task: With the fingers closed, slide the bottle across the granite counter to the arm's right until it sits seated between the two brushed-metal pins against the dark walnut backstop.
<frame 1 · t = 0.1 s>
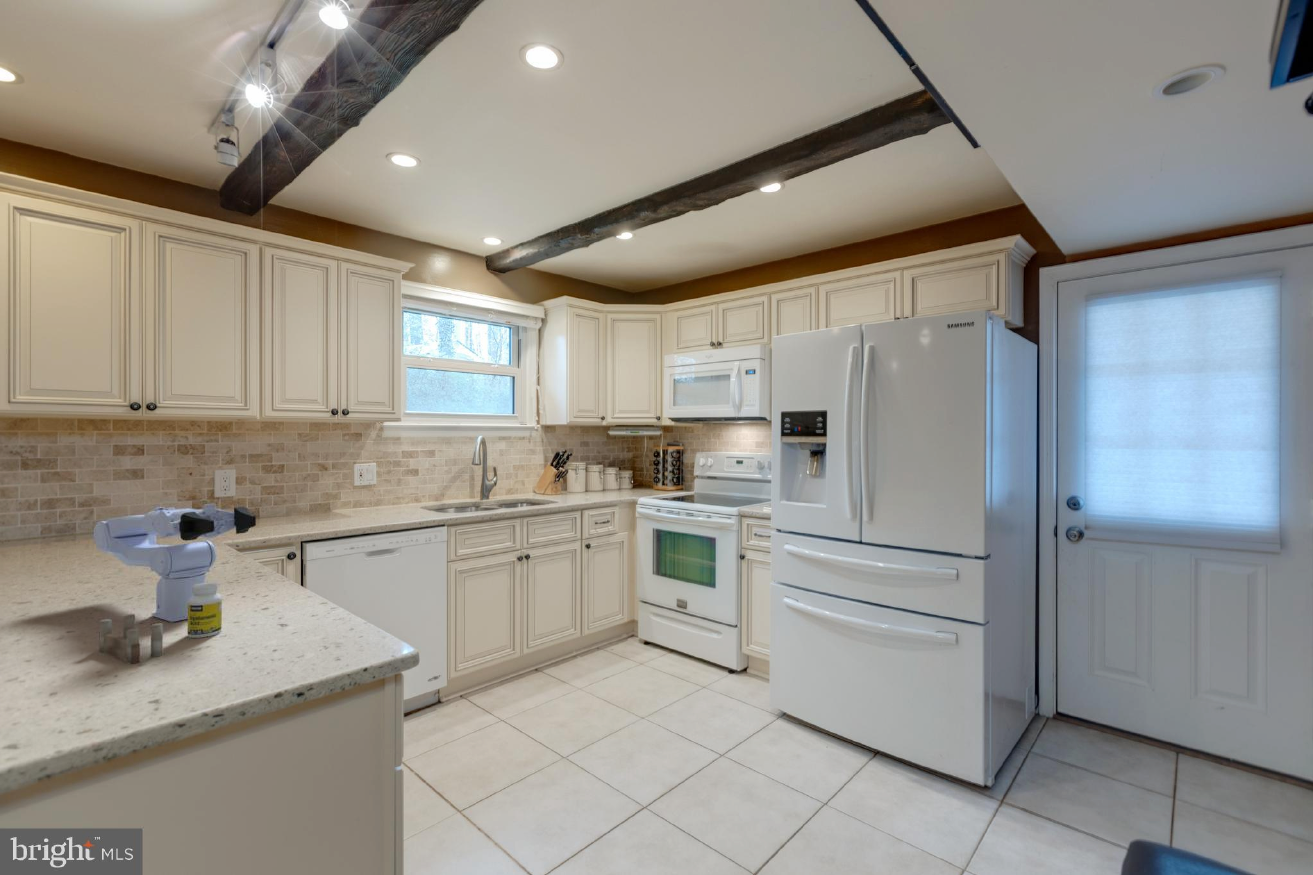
hand: (233, 523, 120), 22 cm above the countertop, tool horizontal, fingers open, 7 cm apart
pin seat: (142, 649, 108), on the countertop
supplement bottle: (204, 634, 117), on the countertop
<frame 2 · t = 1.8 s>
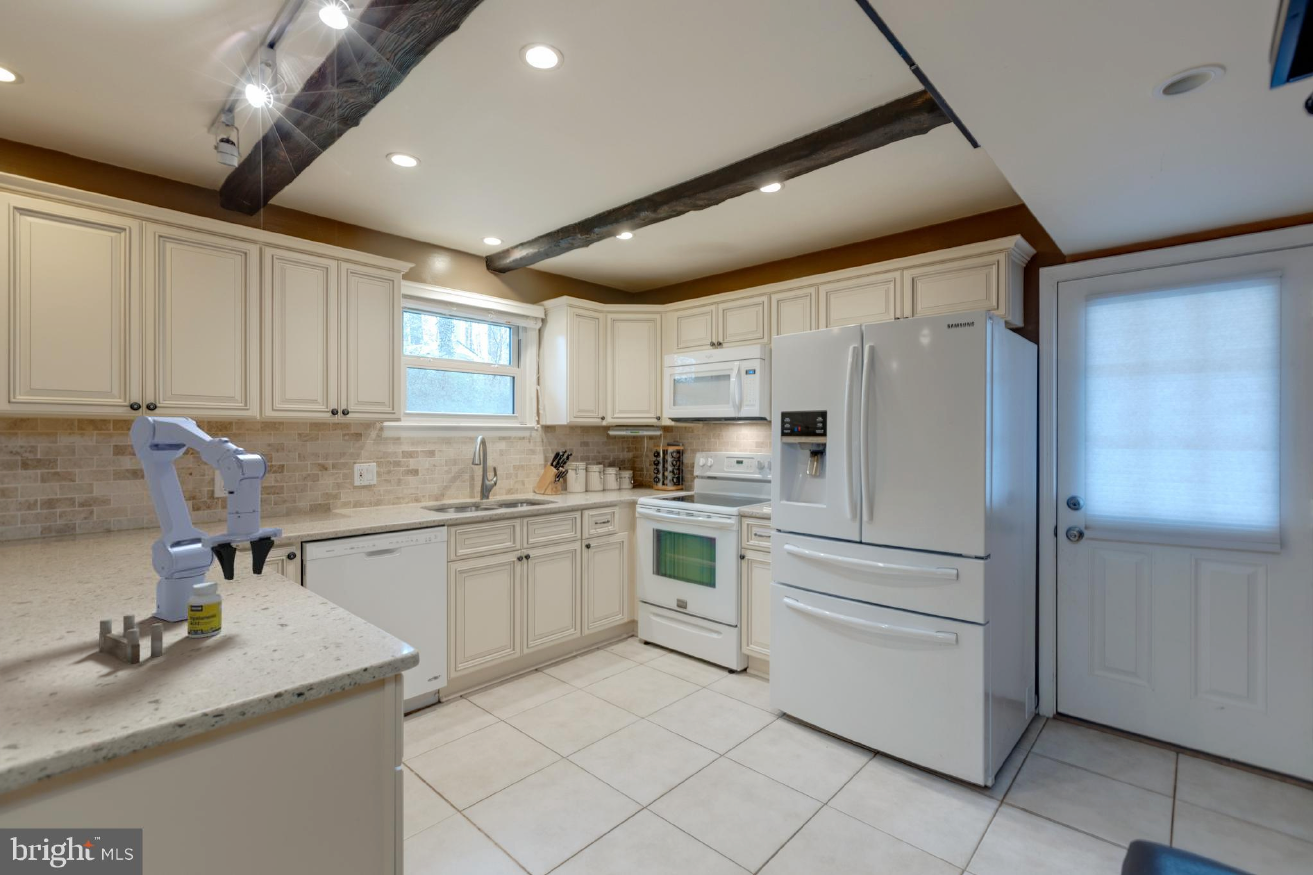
hand: (243, 576, 123), 10 cm above the countertop, tool pointing down, fingers open, 5 cm apart
nothing on the countertop moved.
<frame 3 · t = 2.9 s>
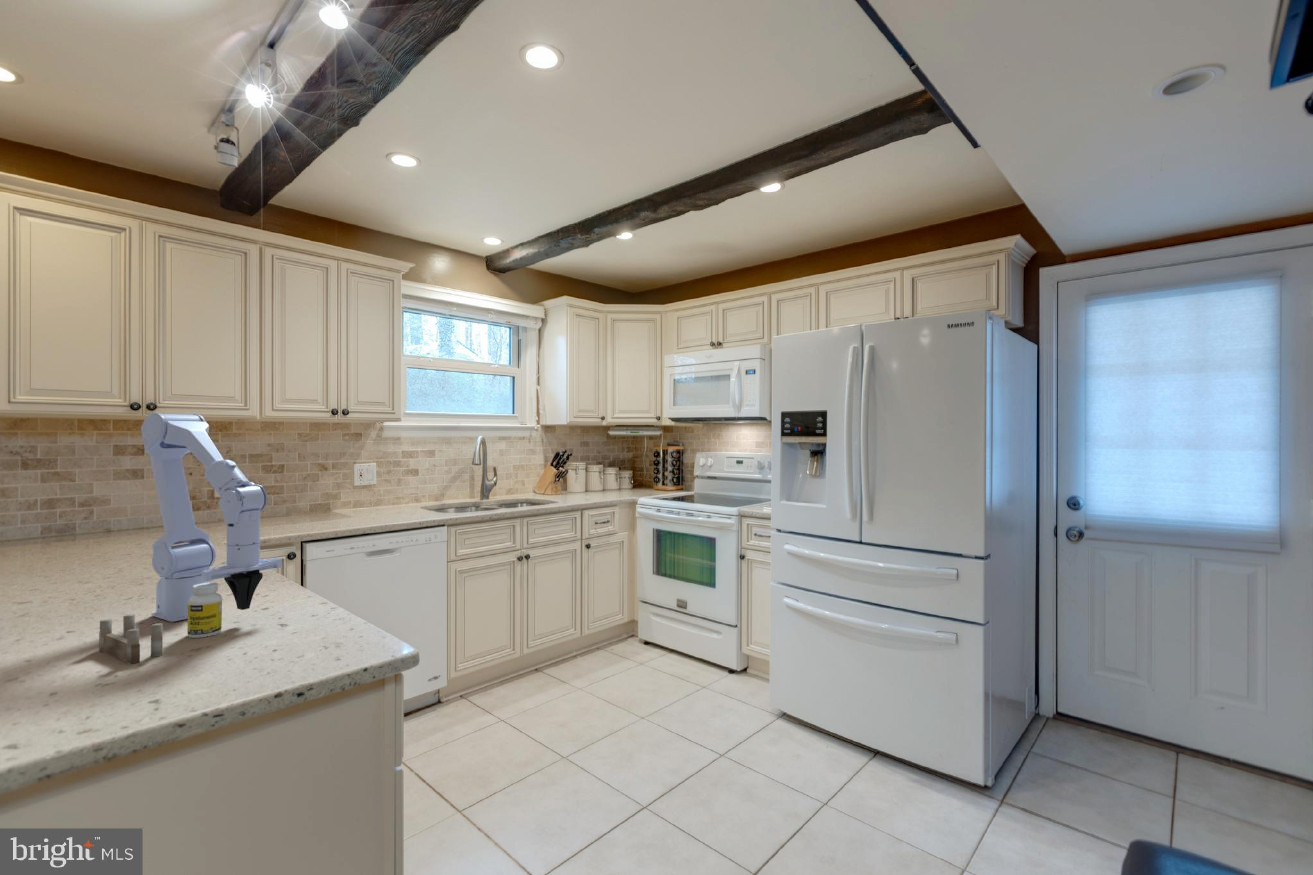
hand: (243, 608, 123), 3 cm above the countertop, tool pointing down, fingers closed
nothing on the countertop moved.
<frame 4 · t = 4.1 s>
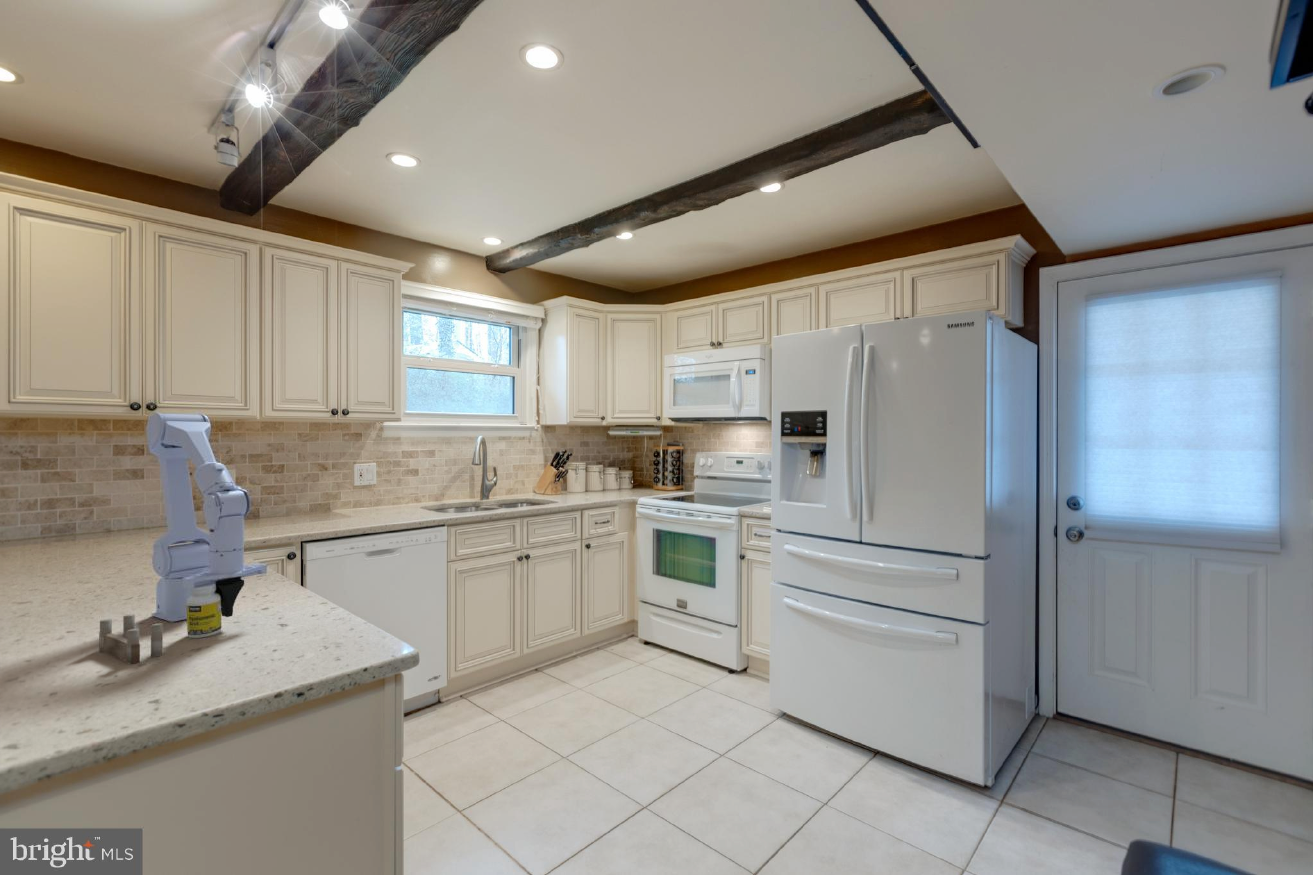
hand: (226, 615, 121), 3 cm above the countertop, tool pointing down, fingers closed, pressing on supplement bottle
supplement bottle: (205, 634, 117), on the countertop, touching gripper
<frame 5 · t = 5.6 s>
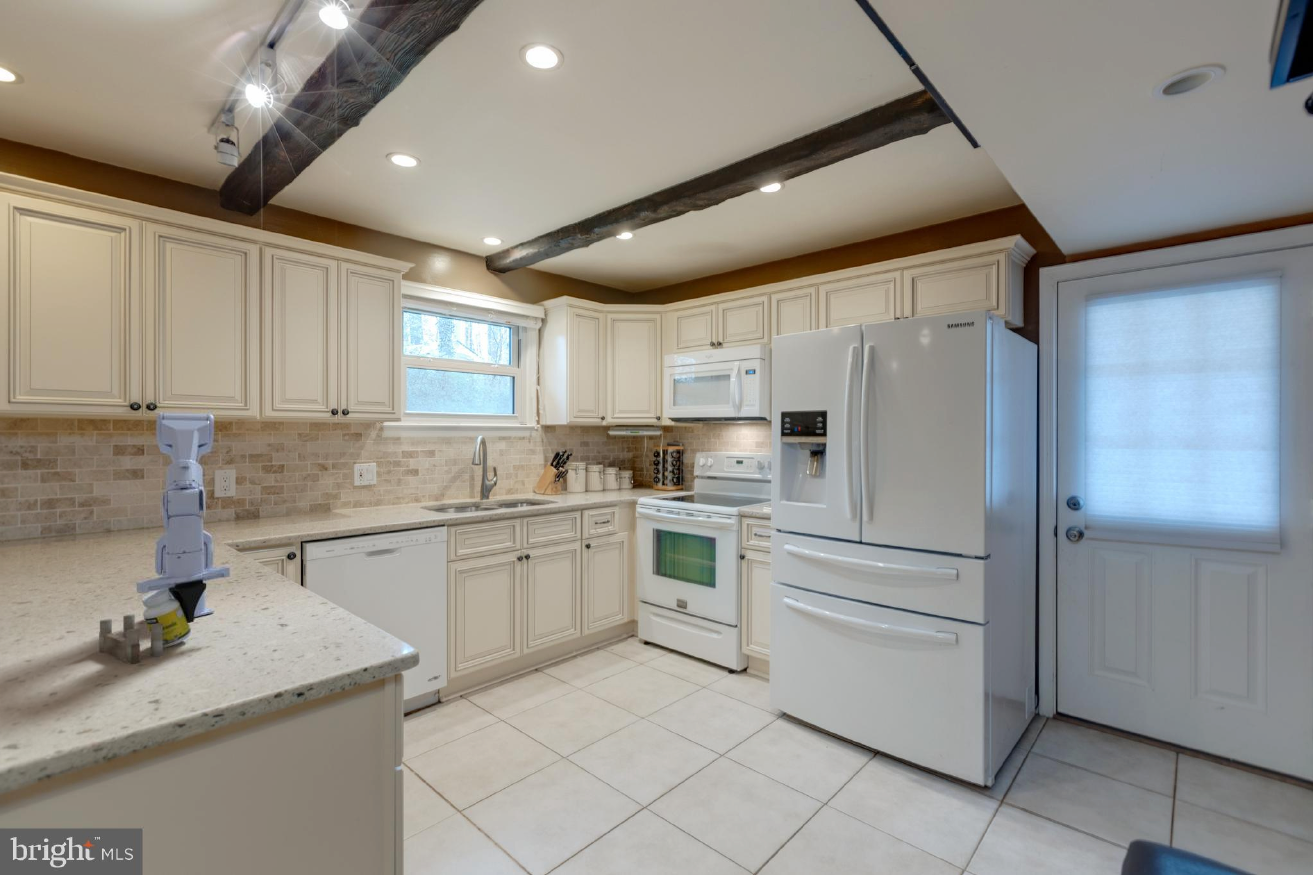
hand: (186, 622, 113), 3 cm above the countertop, tool pointing down, fingers closed, pressing on supplement bottle
supplement bottle: (175, 640, 112), on the countertop, touching gripper
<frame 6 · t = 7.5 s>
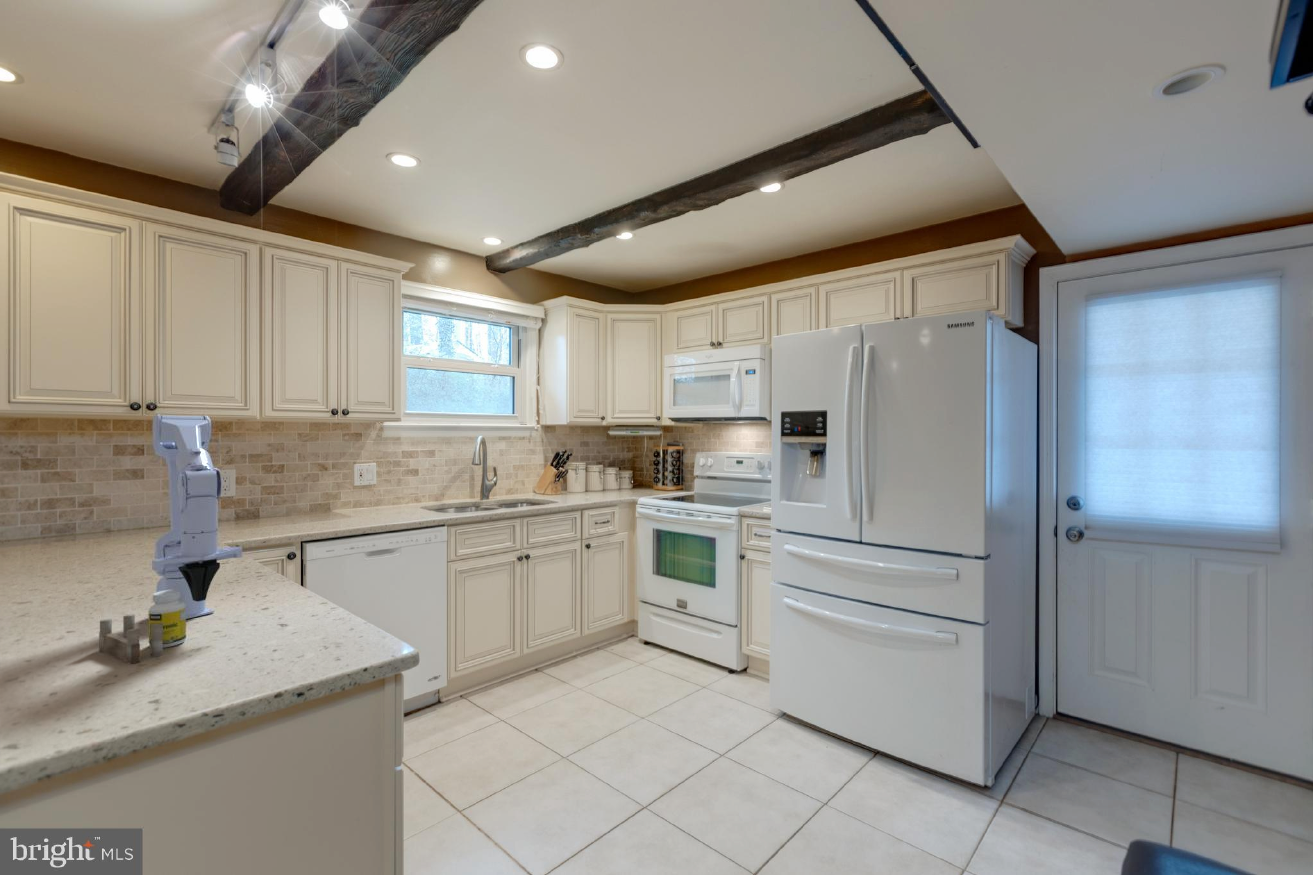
hand: (199, 600, 116), 7 cm above the countertop, tool pointing down, fingers closed
supplement bottle: (168, 644, 112), on the countertop
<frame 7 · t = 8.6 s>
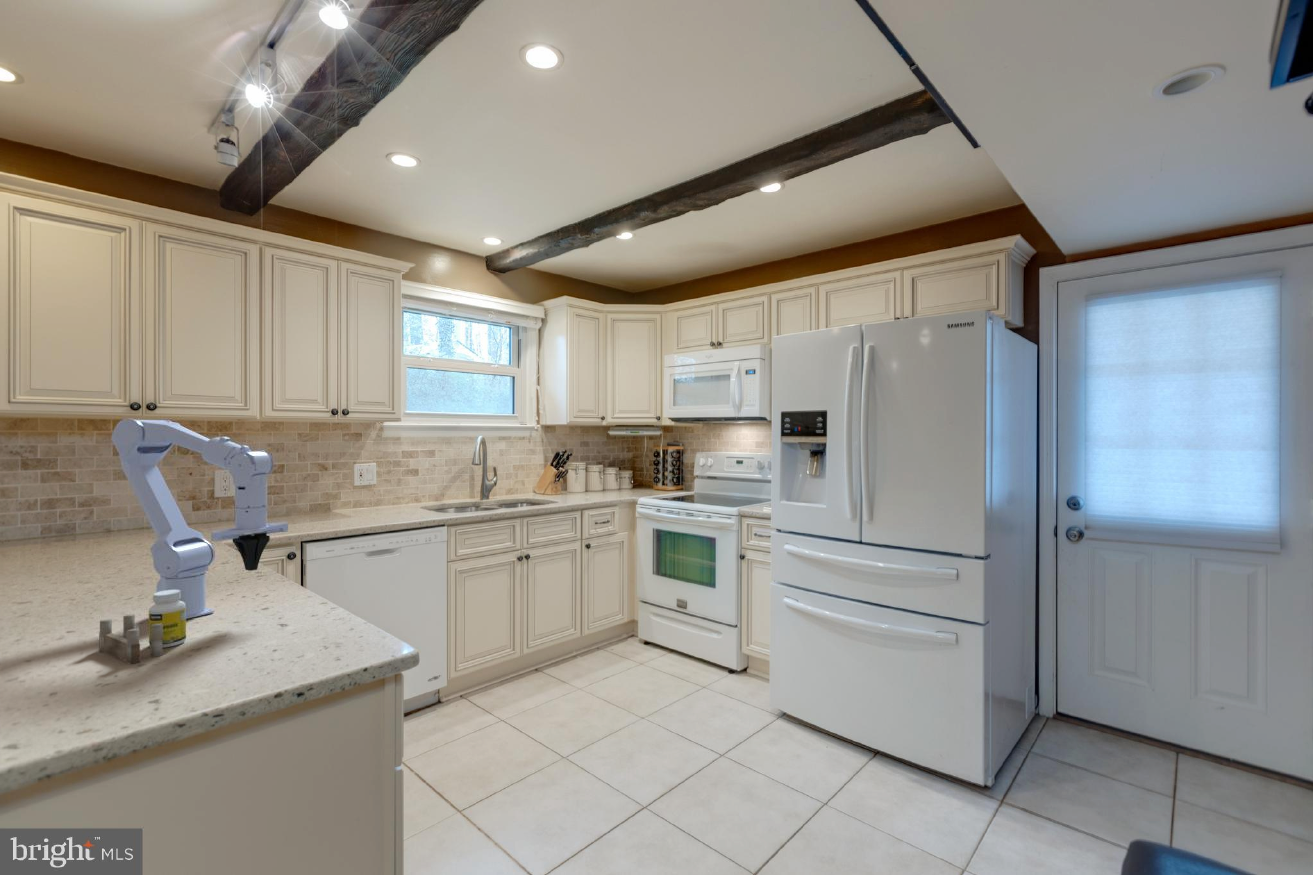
hand: (251, 569, 127), 10 cm above the countertop, tool pointing down, fingers closed
nothing on the countertop moved.
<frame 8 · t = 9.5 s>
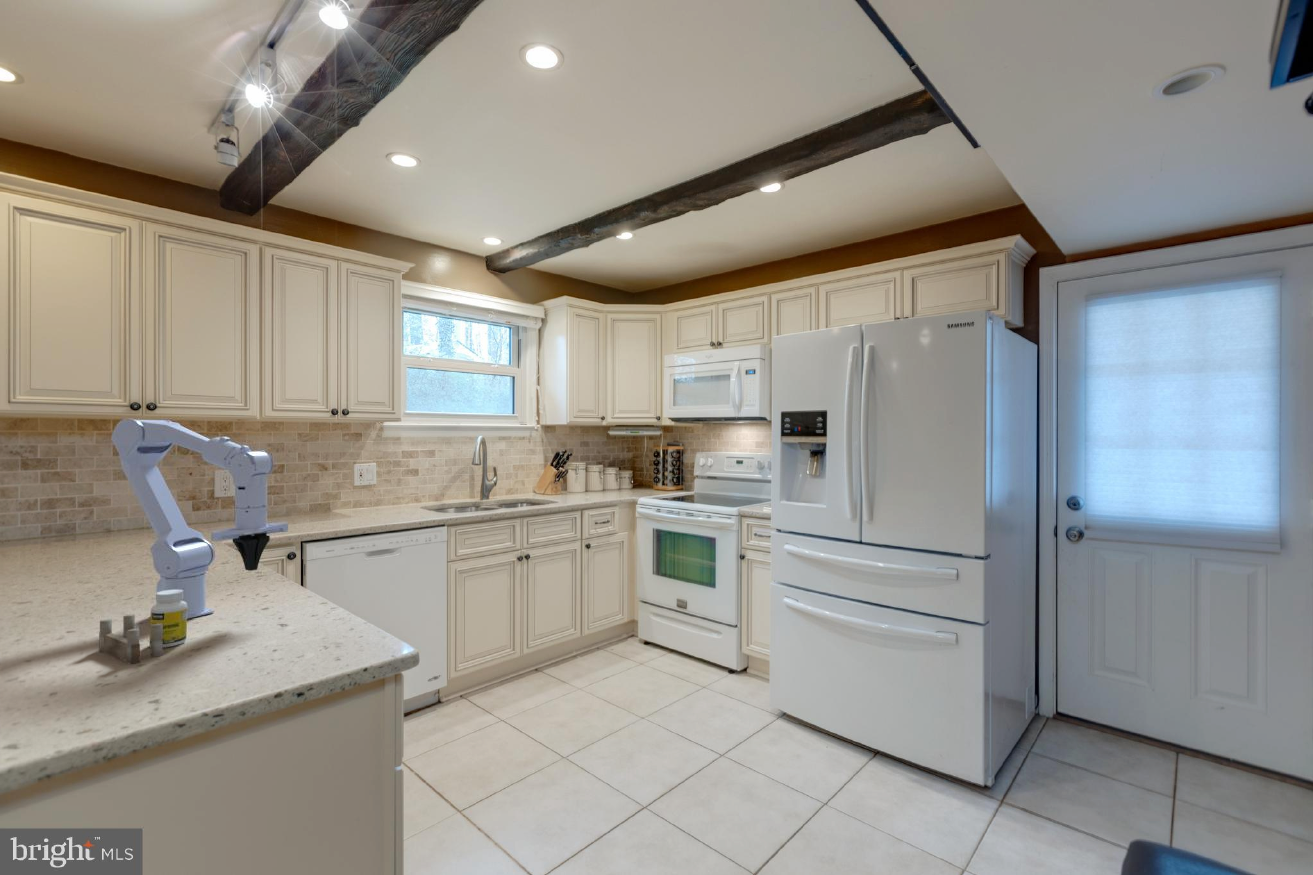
hand: (251, 569, 127), 10 cm above the countertop, tool pointing down, fingers closed
nothing on the countertop moved.
at the end: supplement bottle 3.8 cm from the pin seat (horizontally); supplement bottle tilted 1°; supplement bottle moved 6.3 cm from its start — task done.
